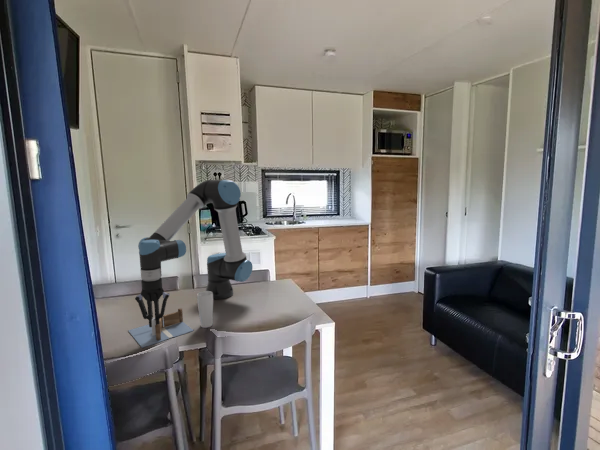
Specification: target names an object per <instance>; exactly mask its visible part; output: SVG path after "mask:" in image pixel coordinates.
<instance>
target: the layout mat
mask: <svg viewBox="0 0 600 450" xmlns="http://www.w3.org/2000/svg"><path fill="white" fill-rule="evenodd" d="M127 331H128V332H129V333H130V335H131V336H132V338H133V339H134V340H135V342H137V344H138V345H139V346H140V347H141V349H143V348H146V347H149V346H152V345H155V344H159V343H161V342H164V341H167V339H168V340H170V339H169V338H171V339H173V338H172V337H174V338H177V337H179V336H182V335H185V334H189V333H193V332H194V329H192V327H191V326H189V325H188V324H187V323H186V322H184V321H183V322H179V323H176V324H173V325H170V326H166V327H164V319H163V328H162V331H161V339H160V340H156V335H153V336H152V327H149V323H148V324H145V325H143V326H139V327H136V328H135V327H134V328H131V329H128V330H127Z"/></svg>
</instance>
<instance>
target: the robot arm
mask: <svg viewBox="0 0 600 450" xmlns="http://www.w3.org/2000/svg"><path fill="white" fill-rule="evenodd" d="M241 196H242V195H241V189H240V187H239V185H238V184H237V183H236V182H235V181H233V180H229V179H207V180H204V181H202V182H200V183H198V185H196V186H195V187H194V188H192V189H191V191H190V192H188V193H187V194H186V199H184V201H182V203H181V204H180V205H179V206H178V207H177V208H176V209H175V210H174V211H173V212H172V213H171V214H170V215H169V216H168V217H167V219H166V220H165V221H164V222H162V224H161V225H160V226H159V227H158V228H157V229H156V230H155V231H154V232H153V233H152V234H151V235H150V236H149V237H143V238H142V239H140V240H139V242H138V254H139V264H140V278H141V292H140V294H138V295H136V297H134V298H135V299H134V300H135V301H136V302H137V303H138V306H139V309H140V312H141V315H142V317H143V319H144V320H148V324H149V327H152V336H153V335H156V330H155V325H157V324H160V322H159V318H162V317H163V316H164V315H165V311H166V306H167V301H168V299H169V297H170V292H165V290H164V289H163V280H162V279H163V278H162V262H166V261H170V260H174V259H179V258H181V257H184V256H185V255H186V252H187V245H186V243H185V242H184V241H183V240H181V239H177V240H176V239H174V240H172V239H173V238H174V237H175V236H176V234H178V233H179V231H180V230H181V229H182V228H183V227H184V226H185V224H186V223H188V222H189V220H190V219H191V218H192V217H193V216H194V214H196V212H198V210H199V209H203V208H204V207H205V206H206V205H208V204H212V205H213V209H214V211H216V212H217V214H218V220H219V225H220V231H221V235H222V241H223V246H224V252H223V253H222V252H220V253H214V254H210V255H208V256H207V258H206V262H207V263H206V269H207V284H206V285H207V286H206V288H205V291H211V292H213V300H223V299H227V298H230V297H232V296H233V294H234V288H233V286H232V283H231V281H235V282H236V283H237V282H239V283H241V282H242V283H244V282H246V281H247V280H249V278H250V277H251V274H253V273H252V272H253V263H252V261H250V260H248V259H247V255H246V253H245V252H243V247H242V246H243V245H242V243H241V237H240V236H241V235H240V229H239V224H238V218H237V213H236V212H237V211H236V208H237V207H238V203H239V202H240V200H241V199H240V198H241ZM161 297H162V298H163V299H162V303H161V309H160V304H159V303H160V299H161ZM143 299H144V300H145V301H146V305H147V308H146V306H145V303H144V300H143ZM153 304H154V305H153ZM153 306H154V313H153Z"/></svg>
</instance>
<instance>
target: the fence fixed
mask: <svg viewBox="0 0 600 450" xmlns="http://www.w3.org/2000/svg"><path fill="white" fill-rule="evenodd" d="M163 320H164V327H166V326H170V325H173V324H176V323H179V322H184V316H183V308H181V307H180V308H177V311H175V312H171V313H167V314H164V315H163Z"/></svg>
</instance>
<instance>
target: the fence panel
mask: <svg viewBox="0 0 600 450" xmlns="http://www.w3.org/2000/svg"><path fill="white" fill-rule="evenodd" d="M163 320H164V319H163V317H162V318H159V322H160V324H157V325H155V330H156V340H160V339H161V331H162V328H163Z"/></svg>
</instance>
